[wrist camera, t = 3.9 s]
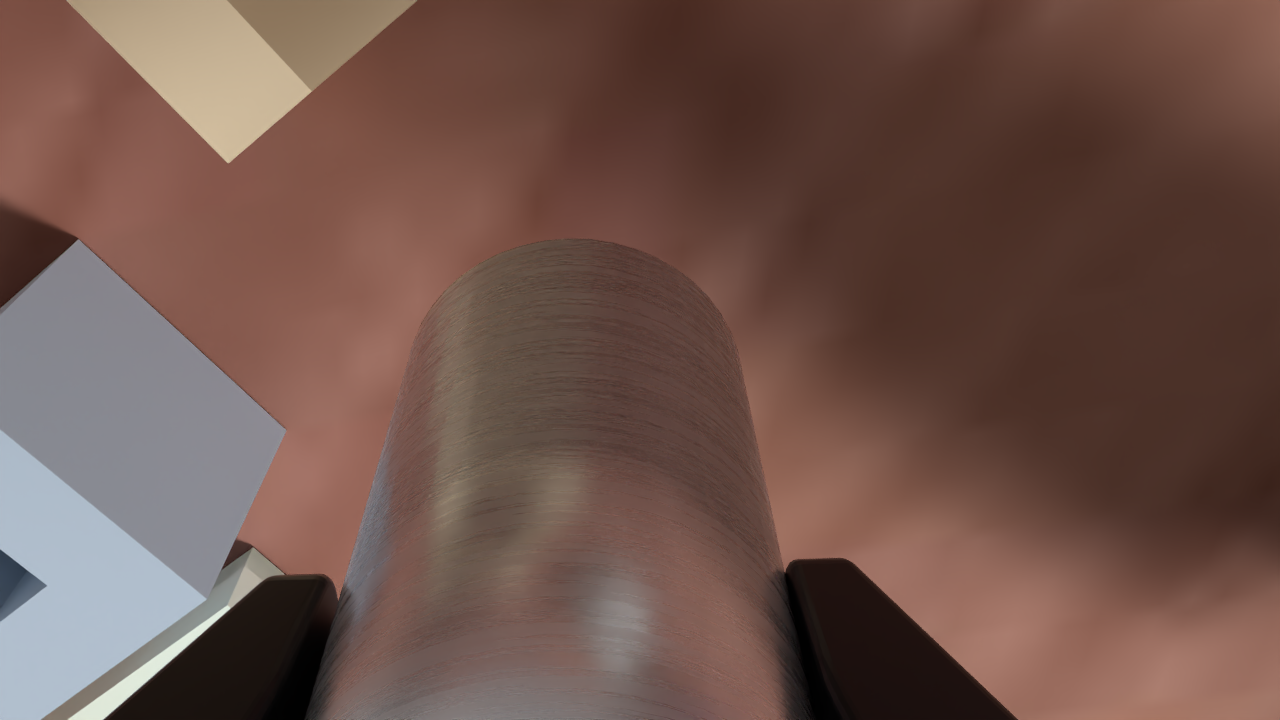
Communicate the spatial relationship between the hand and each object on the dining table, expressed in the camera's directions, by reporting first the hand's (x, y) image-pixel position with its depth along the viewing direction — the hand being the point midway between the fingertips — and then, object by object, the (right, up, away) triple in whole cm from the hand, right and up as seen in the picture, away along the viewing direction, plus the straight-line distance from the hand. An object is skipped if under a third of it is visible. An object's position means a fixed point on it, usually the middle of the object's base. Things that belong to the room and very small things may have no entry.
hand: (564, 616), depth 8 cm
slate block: (-10, +1, +15) cm, 18 cm away
